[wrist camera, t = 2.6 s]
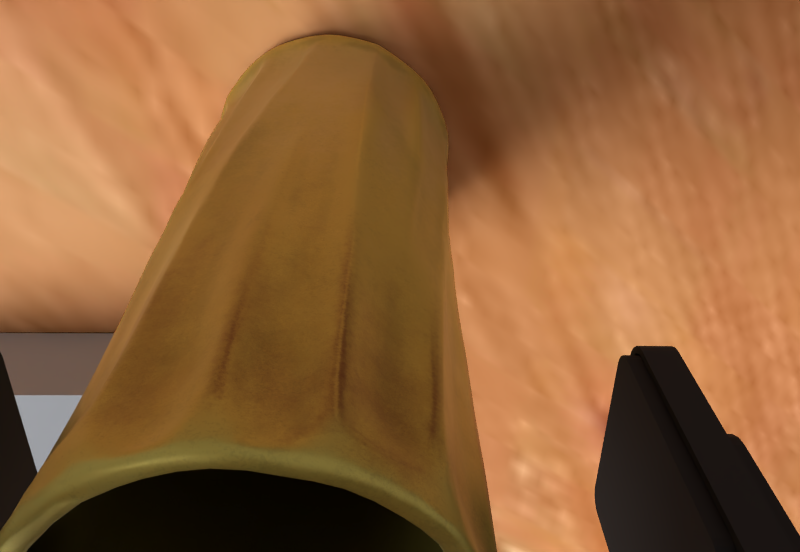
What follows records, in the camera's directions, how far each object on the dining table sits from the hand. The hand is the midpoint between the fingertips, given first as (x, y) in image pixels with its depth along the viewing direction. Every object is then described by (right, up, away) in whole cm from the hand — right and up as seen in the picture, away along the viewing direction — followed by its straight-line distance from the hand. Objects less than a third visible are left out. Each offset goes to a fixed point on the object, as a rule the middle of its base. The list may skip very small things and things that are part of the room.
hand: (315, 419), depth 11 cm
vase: (-1, +6, +9) cm, 10 cm away
